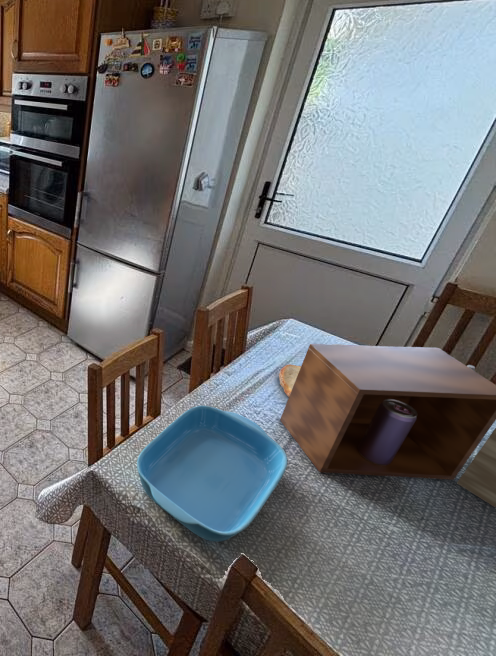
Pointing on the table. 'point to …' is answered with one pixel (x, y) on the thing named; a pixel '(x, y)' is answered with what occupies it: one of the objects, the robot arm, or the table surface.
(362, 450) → the beverage can
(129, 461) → the table surface
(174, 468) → the casserole dish
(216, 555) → the table surface
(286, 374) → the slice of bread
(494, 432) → the cupboard door
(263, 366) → the table surface
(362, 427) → the cupboard
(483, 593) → the table surface
